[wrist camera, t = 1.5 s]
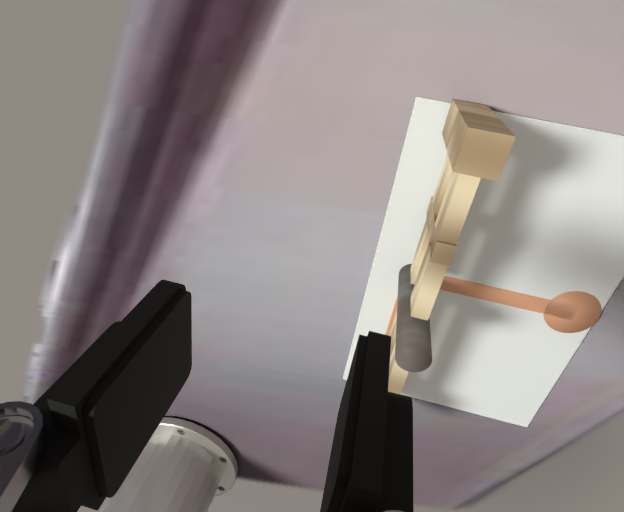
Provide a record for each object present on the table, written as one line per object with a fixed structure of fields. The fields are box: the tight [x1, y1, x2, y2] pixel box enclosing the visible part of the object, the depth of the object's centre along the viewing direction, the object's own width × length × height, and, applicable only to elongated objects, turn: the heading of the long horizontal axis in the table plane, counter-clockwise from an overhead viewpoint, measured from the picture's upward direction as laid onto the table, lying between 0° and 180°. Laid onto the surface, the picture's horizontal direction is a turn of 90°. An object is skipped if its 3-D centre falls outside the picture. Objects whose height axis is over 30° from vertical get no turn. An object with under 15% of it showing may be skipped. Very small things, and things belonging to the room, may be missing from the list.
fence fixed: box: [388, 264, 432, 394], centre depth 29 cm, size 12×2×9 cm, turn 172°
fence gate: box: [411, 99, 516, 321], centre depth 24 cm, size 11×2×8 cm, turn 172°
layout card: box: [343, 96, 624, 427], centre depth 30 cm, size 24×16×1 cm
